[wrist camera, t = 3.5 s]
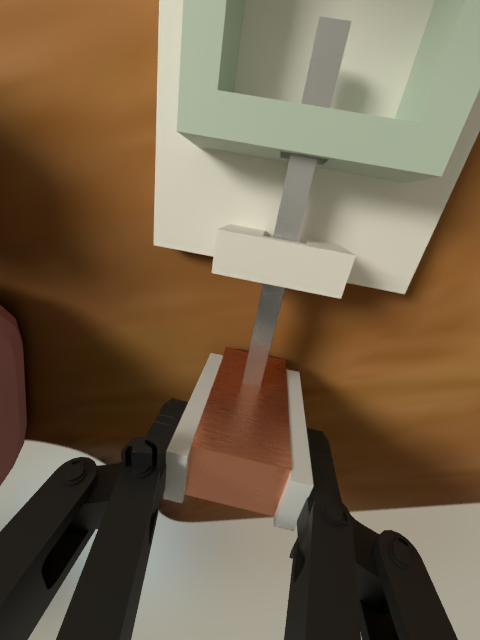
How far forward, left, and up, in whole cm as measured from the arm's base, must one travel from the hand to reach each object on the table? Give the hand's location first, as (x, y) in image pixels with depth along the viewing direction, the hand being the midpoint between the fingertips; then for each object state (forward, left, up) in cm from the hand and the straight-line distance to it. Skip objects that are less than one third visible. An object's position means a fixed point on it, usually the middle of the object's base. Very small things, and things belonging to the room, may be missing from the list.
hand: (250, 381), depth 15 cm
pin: (0, +7, -1) cm, 7 cm away
